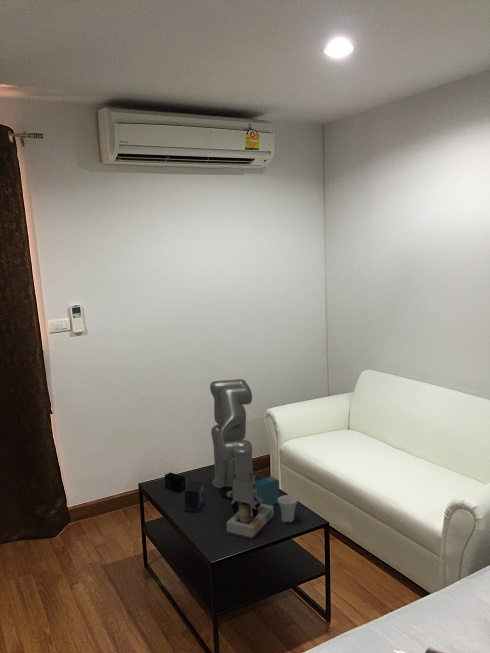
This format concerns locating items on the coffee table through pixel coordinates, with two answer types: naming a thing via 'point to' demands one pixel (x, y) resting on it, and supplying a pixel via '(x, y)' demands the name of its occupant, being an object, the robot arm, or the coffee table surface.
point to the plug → (244, 513)
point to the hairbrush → (225, 491)
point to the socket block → (254, 526)
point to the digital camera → (175, 482)
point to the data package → (268, 490)
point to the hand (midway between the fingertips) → (245, 514)
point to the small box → (194, 496)
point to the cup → (287, 507)
